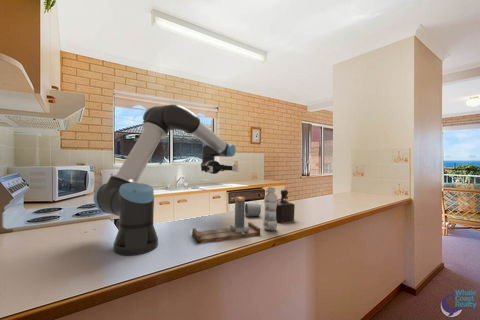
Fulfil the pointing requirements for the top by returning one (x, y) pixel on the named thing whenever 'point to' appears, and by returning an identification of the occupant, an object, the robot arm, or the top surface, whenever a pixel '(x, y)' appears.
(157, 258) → the top surface
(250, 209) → the ceramic mug
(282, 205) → the black block with knob
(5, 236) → the top surface
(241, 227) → the grey upright piece
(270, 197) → the plastic bottle
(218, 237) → the fader track
